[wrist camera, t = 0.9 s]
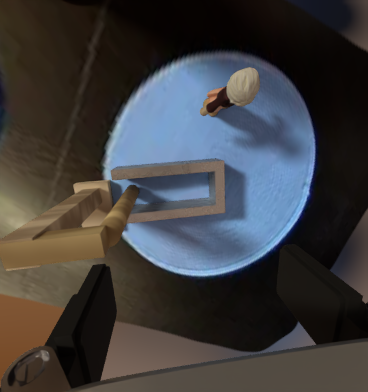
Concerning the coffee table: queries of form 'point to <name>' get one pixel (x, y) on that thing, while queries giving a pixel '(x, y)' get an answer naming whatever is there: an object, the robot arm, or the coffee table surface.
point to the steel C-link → (181, 207)
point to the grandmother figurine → (233, 92)
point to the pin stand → (71, 228)
